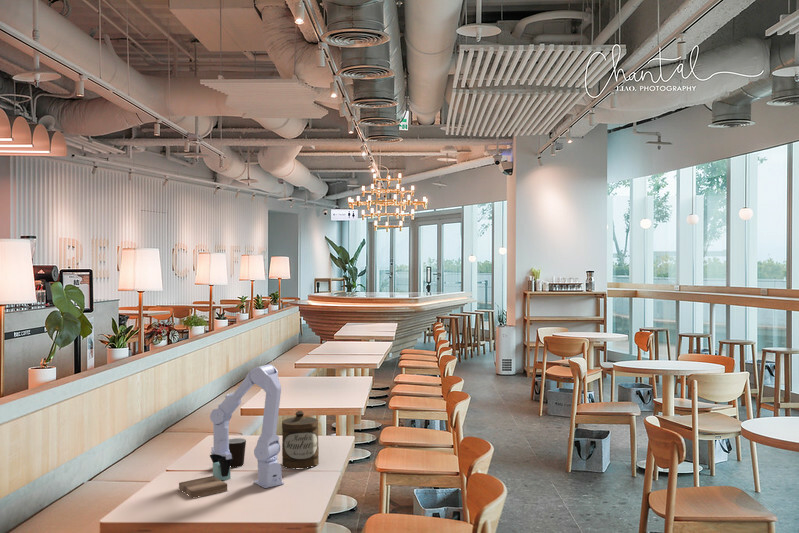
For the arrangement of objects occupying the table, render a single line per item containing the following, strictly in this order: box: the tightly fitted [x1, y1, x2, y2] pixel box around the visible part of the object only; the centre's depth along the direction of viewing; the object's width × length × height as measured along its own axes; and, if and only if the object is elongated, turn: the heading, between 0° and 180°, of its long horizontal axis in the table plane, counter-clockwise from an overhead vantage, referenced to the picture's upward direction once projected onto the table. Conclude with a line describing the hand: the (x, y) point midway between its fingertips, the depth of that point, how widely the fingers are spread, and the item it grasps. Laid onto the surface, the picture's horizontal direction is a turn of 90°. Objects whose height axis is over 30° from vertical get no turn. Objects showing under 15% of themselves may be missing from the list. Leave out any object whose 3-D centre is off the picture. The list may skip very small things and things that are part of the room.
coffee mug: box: [229, 437, 247, 468], centre depth 281 cm, size 12×9×10 cm
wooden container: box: [281, 410, 320, 470], centre depth 279 cm, size 15×15×22 cm
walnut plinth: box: [178, 475, 228, 499], centre depth 247 cm, size 13×13×2 cm
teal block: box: [212, 462, 231, 481], centre depth 261 cm, size 5×5×6 cm
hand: (221, 474), depth 261 cm, fingers open, 6 cm apart
